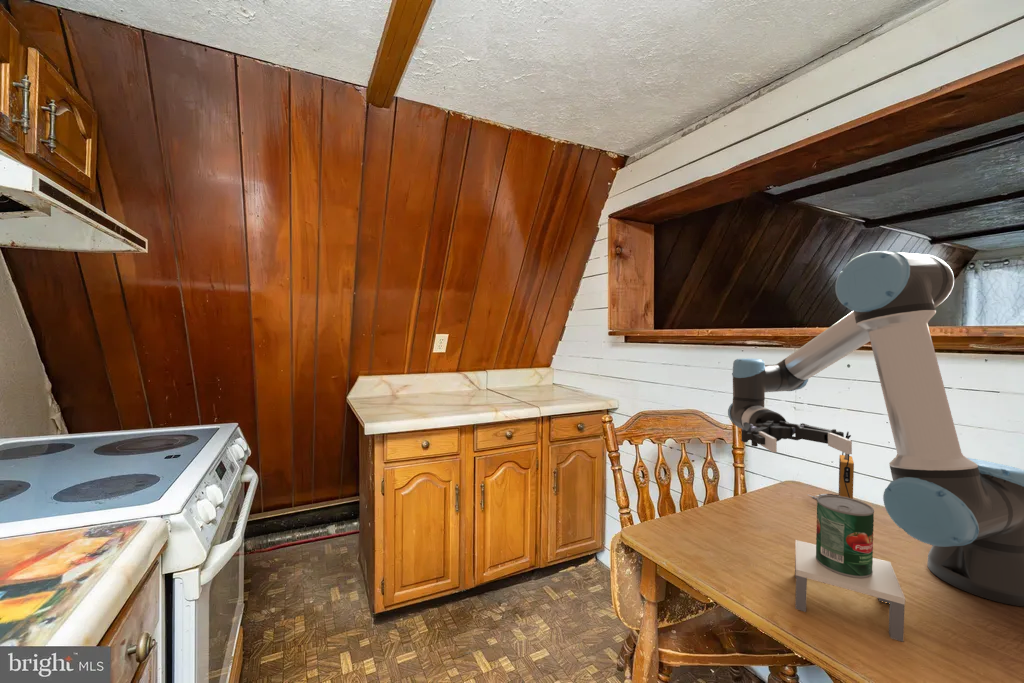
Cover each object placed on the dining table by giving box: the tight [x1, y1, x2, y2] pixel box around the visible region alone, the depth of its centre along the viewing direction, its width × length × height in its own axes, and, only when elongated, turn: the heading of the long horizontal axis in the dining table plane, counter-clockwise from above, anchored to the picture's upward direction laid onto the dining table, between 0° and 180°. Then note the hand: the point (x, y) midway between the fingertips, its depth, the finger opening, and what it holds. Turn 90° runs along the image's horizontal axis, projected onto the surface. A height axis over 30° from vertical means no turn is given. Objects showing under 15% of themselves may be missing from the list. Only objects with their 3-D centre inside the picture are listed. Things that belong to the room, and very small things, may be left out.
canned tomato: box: [815, 494, 875, 578], centre depth 74 cm, size 8×8×11 cm
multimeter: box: [806, 431, 855, 500], centre depth 115 cm, size 15×10×20 cm
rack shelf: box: [794, 539, 906, 643], centre depth 74 cm, size 14×12×7 cm
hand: (811, 446), depth 83 cm, fingers open, 13 cm apart
